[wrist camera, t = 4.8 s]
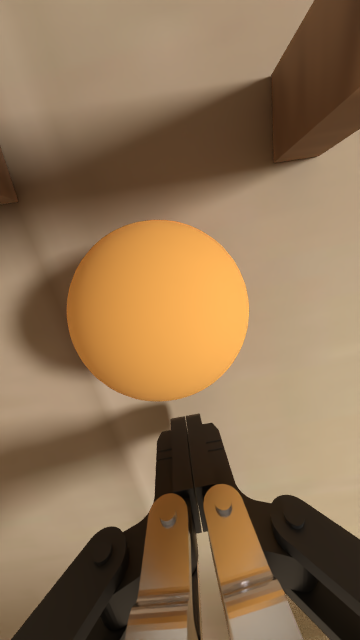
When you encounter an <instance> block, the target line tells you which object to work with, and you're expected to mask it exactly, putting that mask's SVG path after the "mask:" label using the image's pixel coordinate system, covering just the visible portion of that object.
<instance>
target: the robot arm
mask: <svg viewBox="0 0 360 640" xmlns="http://www.w3.org/2000/svg"><path fill="white" fill-rule="evenodd" d="M186 422H187V426H186ZM187 429H188V431H187ZM156 461H157V462H156V479H155V498H154V503H153V505H152V507H151V509H150V511H149V513H148V514H147V516H146V517H145V518H144V519H143V520H142V521H141V522H139V523H138V524H136V525H134V526H133V527H131V528H129V529H128V530H126V531H124V532H122V531H121V530H120V529H119V528H117V527H107V528H104V529H102V530H100V531H99V532H97V533H96V534H95V535H94V536H93V537H92V538H91V540H90V541H89V542H88V543H87V545H86V546H85V547H84V548H83V550H82V551H81V552H80V553H79V555H78V556H77V557H76V558H75V560H74V561H73V562H72V564H71V565H70V566H69V567H68V569H67V570H66V571H65V572H64V574H63V575H62V576H61V577H60V579H59V580H58V581H57V582H56V584H55V585H54V586H53V587H52V589H51V590H50V591H49V593H48V594H47V595H46V596H45V598H44V599H43V600H42V601H41V603H40V604H39V605H38V606H37V608H36V609H35V610H34V611H33V613H32V614H31V615H30V616H29V618H28V619H27V620H26V622H25V623H24V624H23V625H22V627H21V628H20V629H19V630H18V632H17V633H16V634H15V635H14V637H13V638H12V639H11V640H203V638H202V619H201V600H200V582H199V563H198V546H197V537H196V533H202V531H201V524H200V517H201V522H202V527H203V532H206V531H208V535H209V541H210V546H211V552H212V557H213V563H214V567H215V572H216V577H217V581H218V586H219V591H220V595H221V600H222V604H223V609H224V614H225V618H226V623H227V628H228V632H229V637H230V640H303V637H302V635H301V632H300V630H299V627H298V625H297V623H296V620H295V618H294V615H293V613H292V610H291V608H290V605H289V603H288V601H287V598H286V596H285V594H284V592H285V593H286V594H287V595H288V596H289V597H290V598H291V600H292V601H293V602H294V603H295V604H296V605H297V606H298V607H299V608H300V609H301V610H302V611H303V612H304V613H305V614H306V615H307V616H308V617H309V618H310V619H311V620H312V621H313V622H314V623H315V624H316V625H317V626H318V627H319V628H320V629H321V630H322V631H323V633H324V634H325V635H326V636H327V637H328V638H329V639H330V640H360V539H358V538H357V537H355V536H354V535H352V534H351V533H350V532H348V531H347V530H345V529H344V528H342V527H341V526H339V525H338V524H336V523H335V522H333V521H332V520H330V519H329V518H327V517H326V516H325V515H323V514H322V513H320V512H319V511H317V510H316V509H314V508H313V507H311V506H310V505H308V504H307V503H305V502H304V501H302V500H301V499H299V498H297V497H295V496H291V495H281V496H279V497H277V498H275V499H274V501H273V502H272V504H271V503H266V502H261V501H256V500H253V499H250V498H248V497H247V496H245V495H244V494H243V493H242V492H241V491H240V490H239V489H238V487H237V486H236V484H235V481H234V478H233V475H232V472H231V468H230V465H229V462H228V459H227V455H226V452H225V450H224V446H223V443H222V439H221V436H220V433H219V430H218V429H217V428H216V427H215V426H214V424H213V423H208V424H202V422H201V417H200V414H194V415H189V416H186V420H185V416H184V417H178V418H172V419H171V430H169V431H164V432H161V434H160V436H159V438H158V441H157V456H156ZM198 506H199V508H198ZM199 511H200V516H199Z"/></svg>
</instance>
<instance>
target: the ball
mask: <svg viewBox="0 0 360 640" xmlns="http://www.w3.org/2000/svg"><path fill="white" fill-rule="evenodd" d="M248 318H249V302H248V295H247V290H246V286H245V283H244V280H243V278H242V275H241V273H240V271H239V269H238V267H237V265H236V263H235V262H234V260H233V259H232V258H231V256H230V255H229V254H228V253H227V251H226V250H225V249H224V248H223V247H222V246H221V245H220V244H219V243H218V242H217V241H216V240H214V239H213V238H211V237H210V236H208V235H207V234H205V233H204V232H202V231H201V230H199V229H196V228H194V227H192V226H190V225H187V224H183V223H180V222H175V221H168V220H147V221H140V222H136V223H132V224H129V225H126V226H123V227H121V228H119V229H117V230H114V231H112V232H111V233H109V234H108V235H106V236H105V237H103V238H102V239H101V240H100V241H98V242H97V243H96V244H95V245H94V246H93V247H92V248H91V249H90V250H89V252H88V253H87V254H86V255H85V257H84V258H83V259H82V260H81V262H80V264H79V266H78V267H77V269H76V271H75V274H74V276H73V279H72V282H71V284H70V287H69V292H68V298H67V322H68V328H69V333H70V336H71V339H72V342H73V345H74V347H75V349H76V351H77V353H78V355H79V357H80V359H81V360H82V361H83V363H84V364H85V365H86V367H87V368H88V369H89V370H90V372H91V373H92V374H93V375H94V376H95V377H96V378H97V379H99V380H100V381H101V382H103V383H104V384H105V385H107V386H108V387H110V388H111V389H113V390H115V391H117V392H119V393H121V394H124V395H126V396H129V397H132V398H135V399H139V400H145V401H170V400H176V399H181V398H184V397H187V396H190V395H193V394H195V393H197V392H199V391H202V390H203V389H205V388H207V387H208V386H210V385H211V384H212V383H214V382H215V381H216V380H217V379H218V378H220V377H221V376H222V375H223V374H224V373H225V372H226V371H227V369H228V368H229V367H230V366H231V364H232V363H233V361H234V360H235V358H236V356H237V355H238V353H239V351H240V349H241V347H242V344H243V342H244V339H245V335H246V332H247V328H248Z"/></svg>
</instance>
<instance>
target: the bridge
mask: <svg viewBox="0 0 360 640" xmlns="http://www.w3.org/2000/svg"><path fill="white" fill-rule="evenodd" d="M271 76H272V116H273V156H274V163H277V162H283V161H290V160H296V159H303V158H309V157H316V156H320V155H321V154H323V153H324V152H326V151H327V150H329V149H330V148H332V147H333V146H335V145H336V144H338V143H339V142H341V141H342V140H344V139H345V138H347V137H348V136H350V135H351V134H353V133H354V132H356V131H357V130H359V129H360V0H314V2H313V4H312V6H311V7H310V9H309V11H308V13H307V14H306V16H305V18H304V19H303V21H302V23H301V25H300V26H299V28H298V30H297V32H296V33H295V35H294V37H293V38H292V40H291V42H290V44H289V45H288V47H287V49H286V51H285V52H284V54H283V56H282V57H281V59H280V61H279V63H278V64H277V66H276V68H275V70H274V71H273V73H272V75H271ZM14 202H18V199H17V196H16V193H15V190H14V187H13V184H12V181H11V178H10V175H9V171H8V168H7V165H6V162H5V159H4V156H3V153H2V150H1V147H0V204H7V203H14Z"/></svg>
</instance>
